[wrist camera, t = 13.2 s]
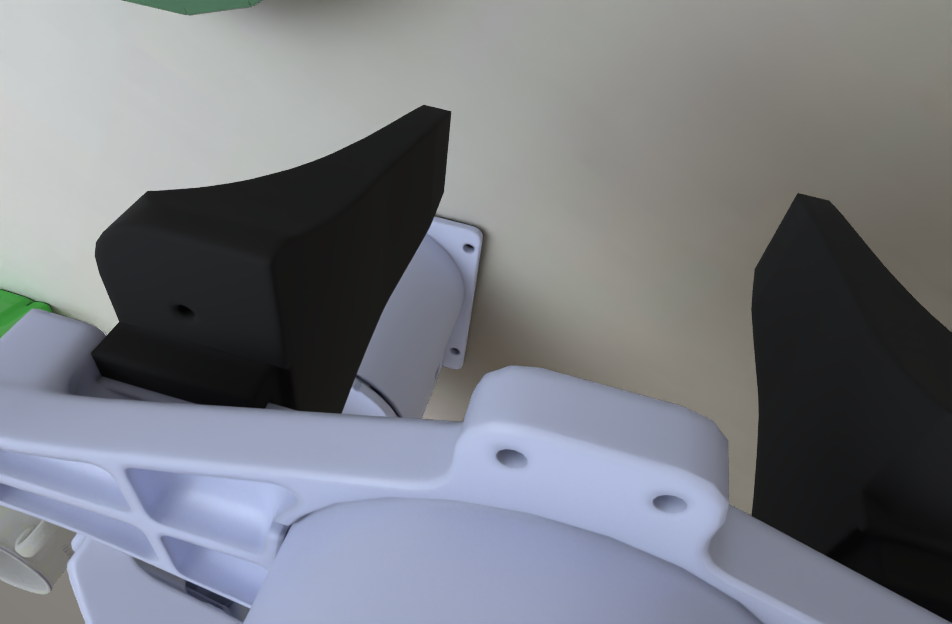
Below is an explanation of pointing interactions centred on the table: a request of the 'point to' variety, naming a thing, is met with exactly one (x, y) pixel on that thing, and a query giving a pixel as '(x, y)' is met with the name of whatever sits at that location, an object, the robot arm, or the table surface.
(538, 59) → the table surface
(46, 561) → the teacup
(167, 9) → the bowl
